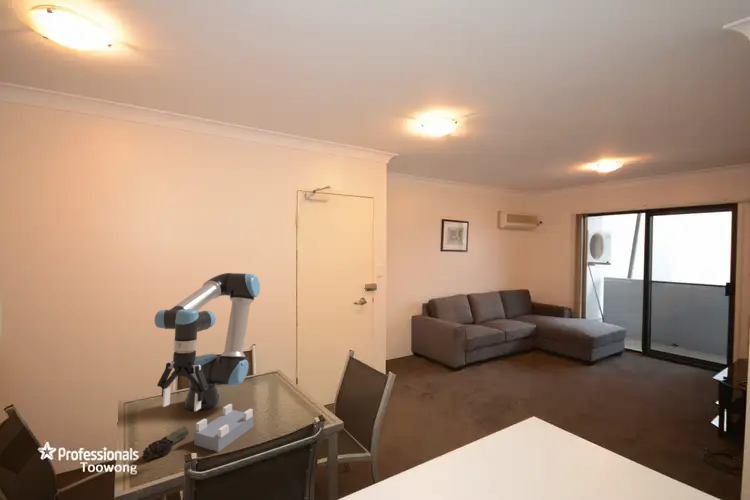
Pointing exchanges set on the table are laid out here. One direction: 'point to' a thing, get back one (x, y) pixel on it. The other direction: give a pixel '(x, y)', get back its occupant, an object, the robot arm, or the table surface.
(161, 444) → the brown lumpy club
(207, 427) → the grey block with tabs
